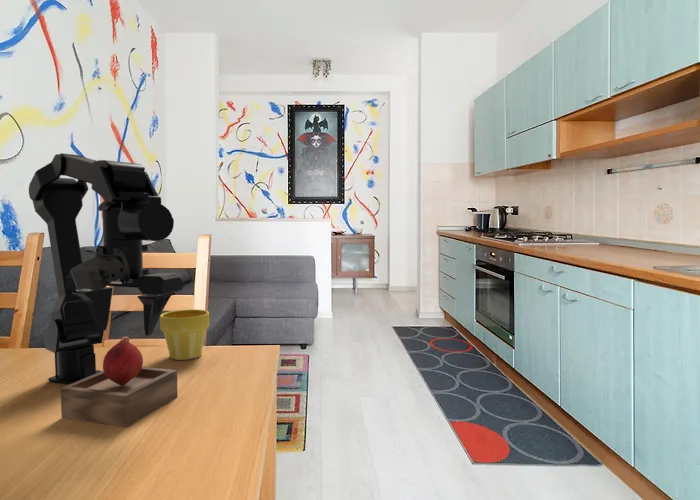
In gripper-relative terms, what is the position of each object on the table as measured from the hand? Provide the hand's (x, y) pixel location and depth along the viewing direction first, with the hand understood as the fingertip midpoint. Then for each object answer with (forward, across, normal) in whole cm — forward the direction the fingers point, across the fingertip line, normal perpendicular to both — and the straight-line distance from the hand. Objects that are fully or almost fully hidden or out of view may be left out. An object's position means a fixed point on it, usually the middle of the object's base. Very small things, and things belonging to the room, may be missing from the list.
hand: (125, 332), depth 75 cm
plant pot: (+12, -7, +25) cm, 29 cm away
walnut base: (+12, +1, -2) cm, 12 cm away
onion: (+8, +1, -2) cm, 9 cm away
